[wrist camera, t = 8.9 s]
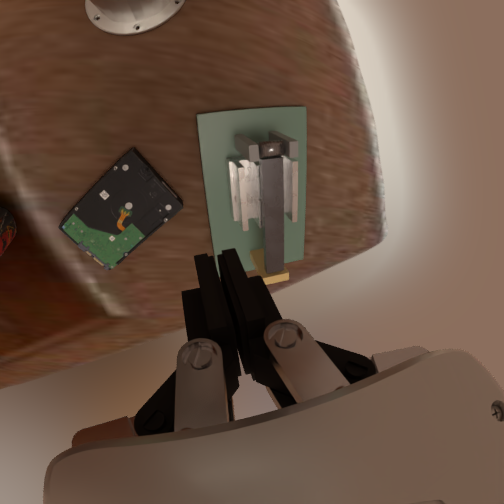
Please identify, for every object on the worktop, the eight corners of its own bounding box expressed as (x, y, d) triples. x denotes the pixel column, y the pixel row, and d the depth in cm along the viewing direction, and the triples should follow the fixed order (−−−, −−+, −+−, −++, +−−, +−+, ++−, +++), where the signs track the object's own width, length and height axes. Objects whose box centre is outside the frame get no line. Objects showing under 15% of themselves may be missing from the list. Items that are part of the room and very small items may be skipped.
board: (196, 114, 32) (203, 121, 25) (302, 105, 35) (333, 112, 28) (216, 272, 45) (227, 307, 39) (300, 255, 48) (322, 285, 41)
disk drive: (132, 144, 32) (62, 219, 34) (130, 148, 30) (56, 228, 32) (183, 199, 38) (112, 264, 40) (185, 207, 36) (110, 275, 38)
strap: (256, 140, 30) (261, 143, 28) (279, 138, 30) (284, 141, 29) (262, 268, 39) (267, 275, 37) (281, 264, 39) (285, 271, 38)
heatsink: (225, 158, 35) (234, 168, 31) (285, 151, 36) (301, 160, 32) (231, 214, 39) (239, 231, 35) (286, 205, 41) (300, 221, 37)
